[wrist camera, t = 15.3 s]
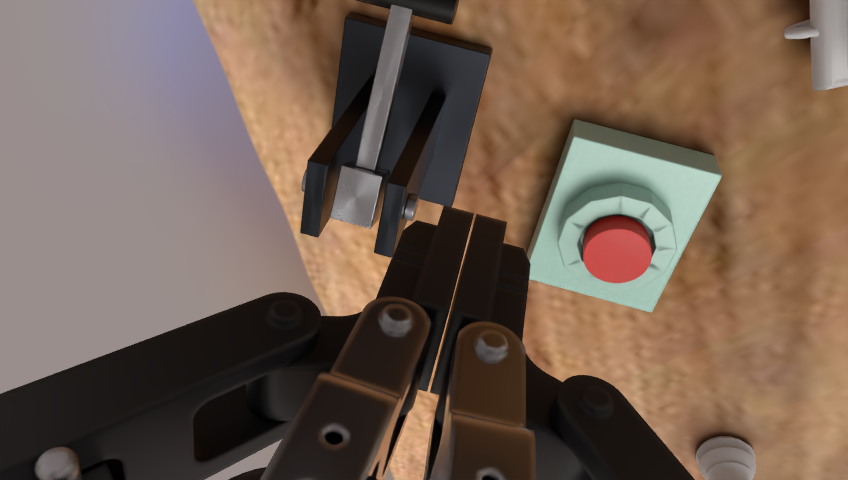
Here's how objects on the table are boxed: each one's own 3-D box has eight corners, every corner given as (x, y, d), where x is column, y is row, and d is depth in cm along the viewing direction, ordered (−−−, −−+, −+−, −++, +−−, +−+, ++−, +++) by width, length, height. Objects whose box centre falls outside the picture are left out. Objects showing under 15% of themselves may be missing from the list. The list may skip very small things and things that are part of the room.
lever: (364, -28, 34) (354, -35, 32) (460, -3, 34) (457, -9, 32) (315, 202, 37) (303, 210, 35) (403, 226, 37) (396, 236, 35)
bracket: (350, 11, 42) (272, 86, 31) (493, 48, 41) (461, 137, 31) (331, 166, 48) (260, 271, 37) (454, 199, 47) (417, 315, 37)
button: (595, 207, 41) (595, 221, 40) (660, 225, 41) (662, 239, 40) (574, 259, 43) (574, 273, 42) (635, 276, 43) (637, 290, 42)
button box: (574, 118, 43) (573, 149, 39) (715, 155, 42) (728, 190, 38) (525, 255, 49) (521, 293, 45) (648, 289, 48) (653, 330, 45)
